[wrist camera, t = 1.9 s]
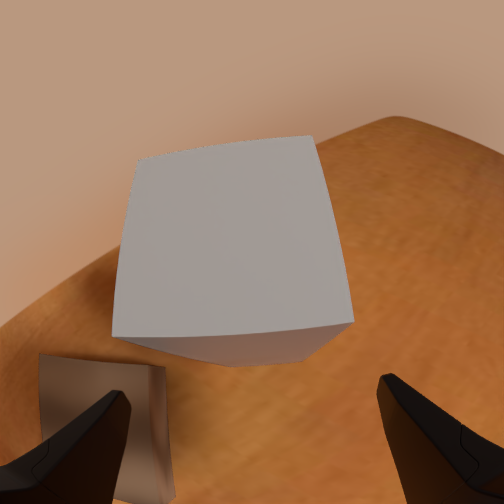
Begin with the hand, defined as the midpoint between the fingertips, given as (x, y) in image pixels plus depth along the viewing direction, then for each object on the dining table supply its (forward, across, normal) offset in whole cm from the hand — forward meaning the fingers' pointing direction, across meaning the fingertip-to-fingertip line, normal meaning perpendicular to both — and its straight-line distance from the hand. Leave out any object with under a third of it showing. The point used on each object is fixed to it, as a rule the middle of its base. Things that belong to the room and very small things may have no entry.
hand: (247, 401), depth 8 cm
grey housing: (+10, 0, +5) cm, 12 cm away
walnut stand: (+5, +13, +10) cm, 17 cm away
